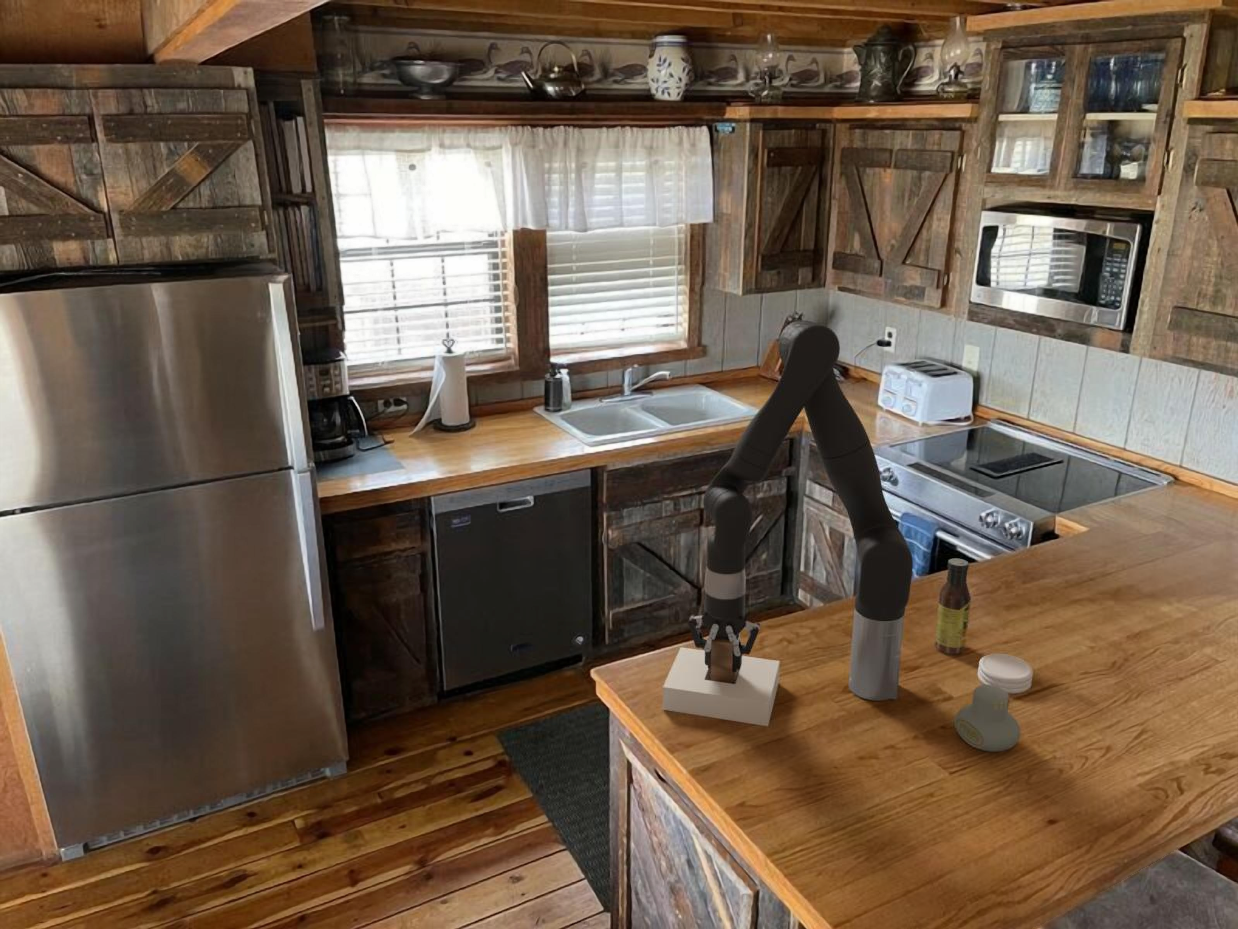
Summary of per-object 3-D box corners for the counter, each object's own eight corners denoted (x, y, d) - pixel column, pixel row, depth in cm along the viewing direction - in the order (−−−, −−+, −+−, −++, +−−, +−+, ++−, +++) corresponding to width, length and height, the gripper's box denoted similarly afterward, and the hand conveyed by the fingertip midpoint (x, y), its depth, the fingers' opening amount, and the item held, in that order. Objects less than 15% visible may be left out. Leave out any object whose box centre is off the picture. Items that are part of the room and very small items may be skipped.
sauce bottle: (966, 657, 193) (977, 570, 187) (935, 654, 195) (945, 568, 188) (962, 641, 199) (972, 557, 193) (932, 639, 201) (941, 554, 194)
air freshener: (945, 730, 170) (951, 682, 167) (980, 719, 173) (987, 672, 170) (990, 764, 161) (997, 715, 157) (1026, 752, 164) (1033, 703, 160)
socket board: (778, 683, 185) (779, 661, 184) (768, 726, 172) (769, 703, 170) (680, 668, 191) (680, 647, 189) (662, 709, 177) (662, 686, 175)
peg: (734, 678, 181) (736, 633, 178) (731, 689, 178) (732, 643, 174) (714, 675, 182) (715, 630, 179) (710, 686, 179) (711, 641, 176)
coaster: (1035, 697, 180) (1038, 681, 179) (981, 692, 182) (983, 676, 181) (1025, 670, 189) (1027, 654, 188) (973, 665, 191) (975, 650, 190)
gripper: (766, 584, 175) (762, 663, 181) (691, 575, 179) (690, 653, 184) (760, 602, 168) (757, 684, 174) (683, 592, 172) (682, 673, 178)
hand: (722, 668), depth 179 cm, fingers open, 4 cm apart
